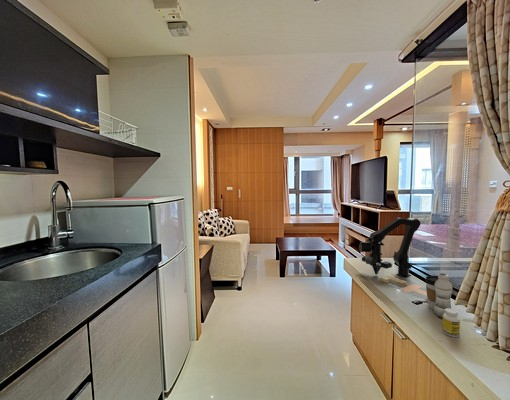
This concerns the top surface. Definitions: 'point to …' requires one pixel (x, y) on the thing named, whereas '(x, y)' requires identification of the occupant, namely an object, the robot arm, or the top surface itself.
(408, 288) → the grey flat panel
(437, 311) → the plastic bottle
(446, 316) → the supplement bottle
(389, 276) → the oak T block
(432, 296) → the coffee cup
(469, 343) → the top surface
